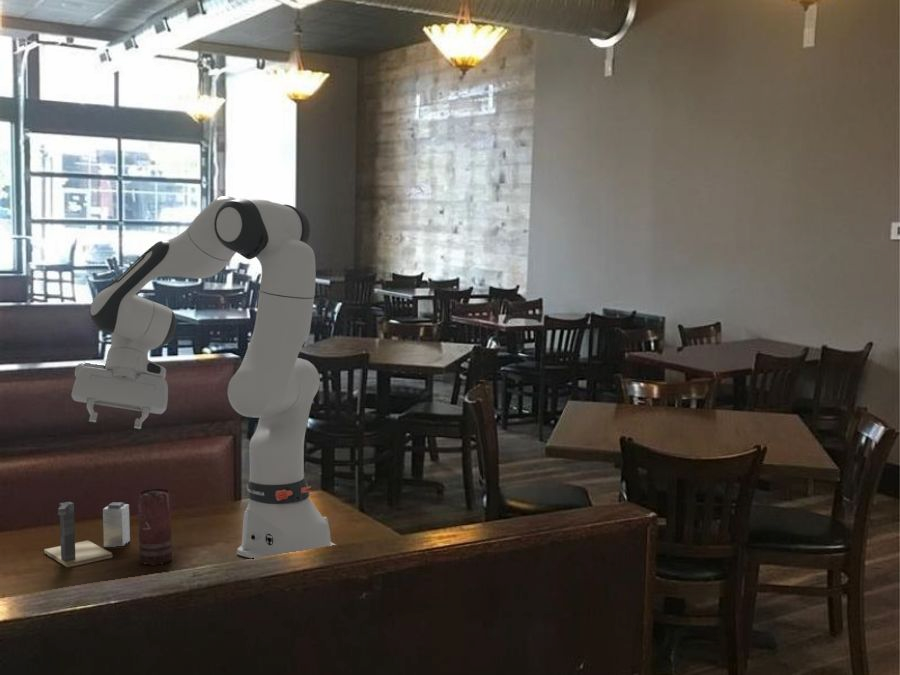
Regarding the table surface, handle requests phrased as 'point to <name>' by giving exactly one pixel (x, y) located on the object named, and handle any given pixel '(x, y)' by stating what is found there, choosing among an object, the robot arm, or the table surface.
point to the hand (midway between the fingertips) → (115, 424)
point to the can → (155, 526)
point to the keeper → (69, 549)
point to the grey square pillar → (116, 524)
